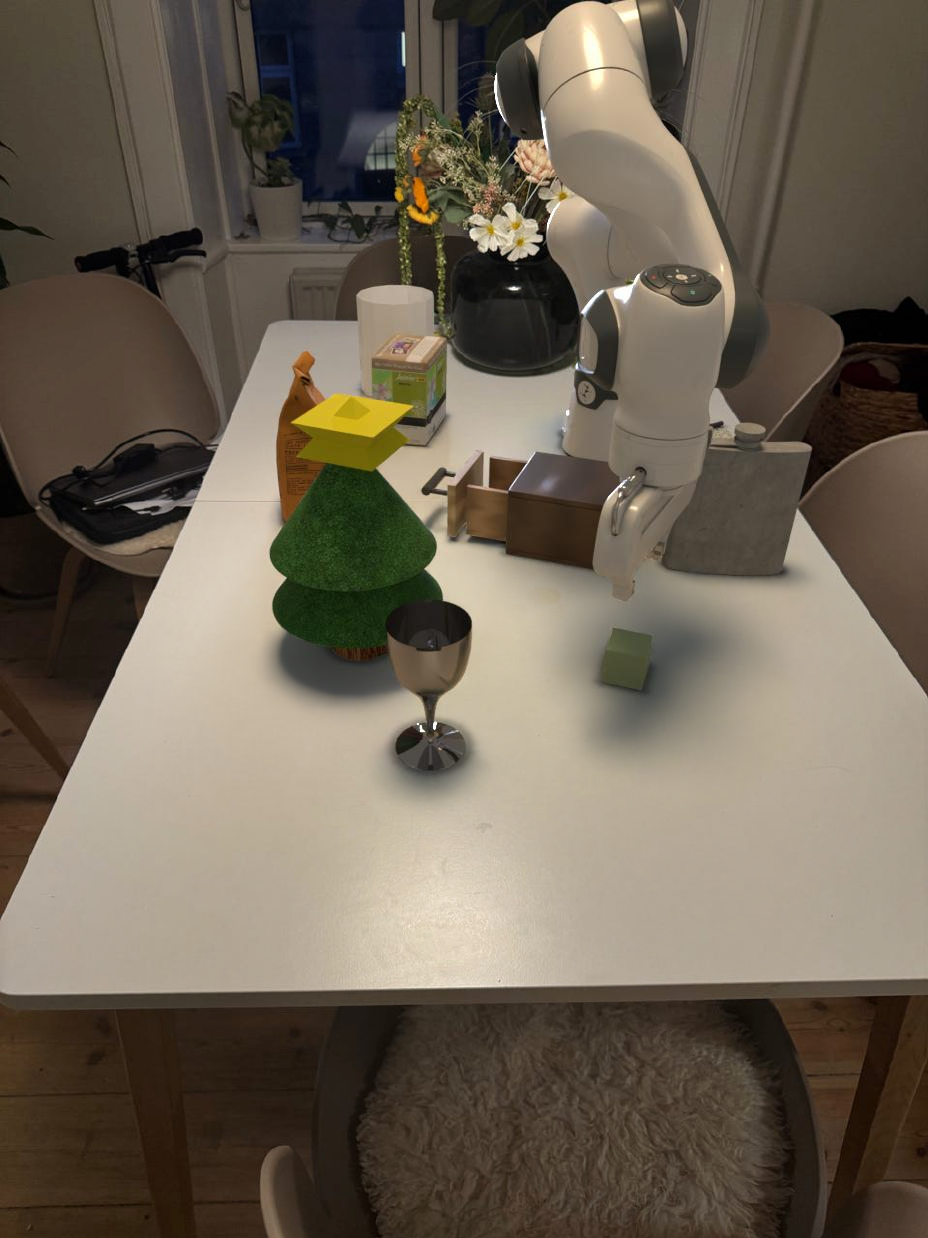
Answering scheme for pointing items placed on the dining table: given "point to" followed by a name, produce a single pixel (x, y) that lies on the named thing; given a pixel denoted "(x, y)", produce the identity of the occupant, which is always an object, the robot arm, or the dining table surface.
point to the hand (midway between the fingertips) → (638, 575)
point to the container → (390, 320)
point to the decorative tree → (351, 534)
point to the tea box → (413, 382)
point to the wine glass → (429, 675)
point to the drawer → (477, 495)
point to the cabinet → (558, 508)
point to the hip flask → (740, 506)
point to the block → (627, 658)
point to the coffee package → (296, 438)
